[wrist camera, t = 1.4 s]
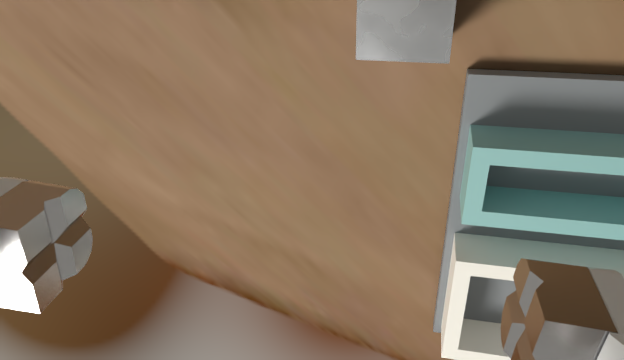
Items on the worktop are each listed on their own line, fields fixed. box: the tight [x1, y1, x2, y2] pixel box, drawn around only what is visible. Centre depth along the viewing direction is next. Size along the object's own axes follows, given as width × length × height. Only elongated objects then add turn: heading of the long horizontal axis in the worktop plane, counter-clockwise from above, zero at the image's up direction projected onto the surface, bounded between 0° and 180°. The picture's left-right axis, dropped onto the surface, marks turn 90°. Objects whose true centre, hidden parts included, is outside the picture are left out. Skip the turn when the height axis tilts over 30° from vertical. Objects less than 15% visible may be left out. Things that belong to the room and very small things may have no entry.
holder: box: [433, 69, 624, 360], centre depth 31 cm, size 15×20×4 cm
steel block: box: [356, 0, 456, 63], centre depth 26 cm, size 4×4×5 cm
